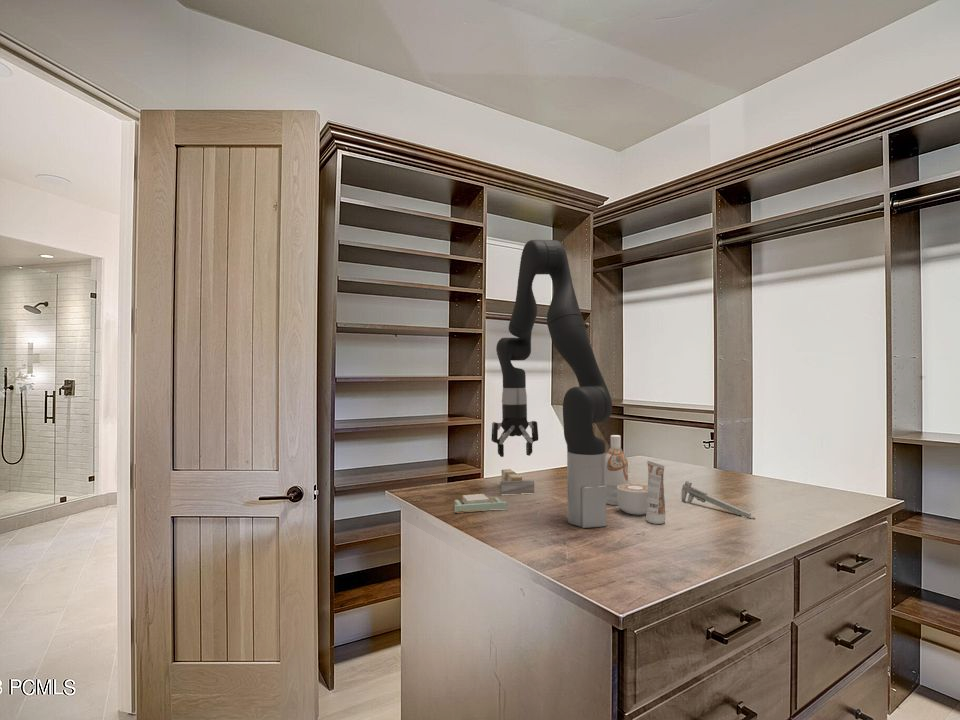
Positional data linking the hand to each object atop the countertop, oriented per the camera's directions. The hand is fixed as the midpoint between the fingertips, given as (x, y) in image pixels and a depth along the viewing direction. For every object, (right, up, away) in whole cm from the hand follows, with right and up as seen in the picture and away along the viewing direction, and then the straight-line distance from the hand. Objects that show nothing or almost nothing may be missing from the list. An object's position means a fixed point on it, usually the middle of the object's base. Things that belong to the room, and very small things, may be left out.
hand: (515, 455), depth 159 cm
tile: (-12, -11, -16) cm, 23 cm away
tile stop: (-11, -11, -19) cm, 25 cm away
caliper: (+52, -11, -21) cm, 57 cm away
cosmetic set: (+30, -11, -23) cm, 39 cm away
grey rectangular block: (-1, -11, +2) cm, 11 cm away
